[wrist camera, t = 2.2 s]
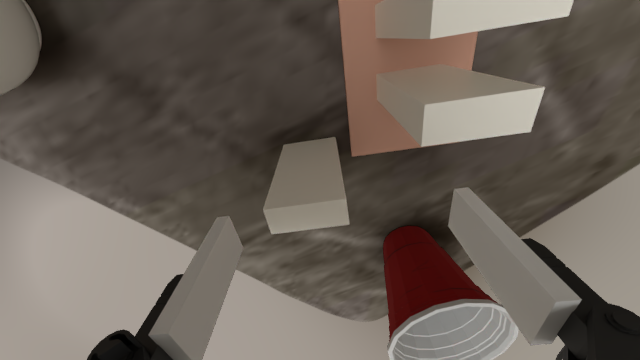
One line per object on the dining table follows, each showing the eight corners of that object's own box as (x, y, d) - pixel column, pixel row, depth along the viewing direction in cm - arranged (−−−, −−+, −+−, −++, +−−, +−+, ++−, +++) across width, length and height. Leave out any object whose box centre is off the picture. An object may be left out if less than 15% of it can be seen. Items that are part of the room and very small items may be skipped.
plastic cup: (469, 237, 29) (552, 346, 19) (401, 280, 33) (438, 388, 23) (415, 190, 26) (480, 293, 15) (345, 245, 30) (360, 354, 19)
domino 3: (376, 73, 19) (424, 104, 10) (440, 63, 19) (545, 87, 10) (376, 99, 20) (421, 146, 11) (437, 90, 20) (530, 132, 11)
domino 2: (374, 5, 17) (435, -29, 8) (448, -9, 16) (592, -58, 8) (375, 37, 18) (429, 39, 9) (444, 26, 17) (568, 16, 9)
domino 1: (283, 144, 23) (262, 209, 14) (335, 136, 22) (346, 198, 14) (288, 163, 24) (271, 234, 15) (338, 155, 23) (349, 224, 15)
